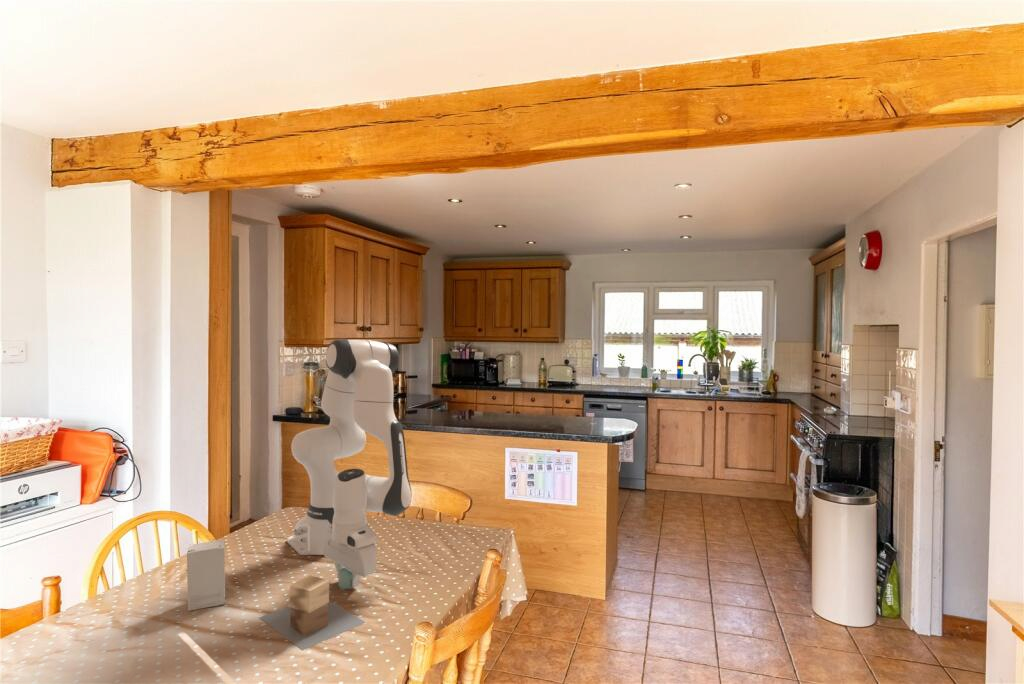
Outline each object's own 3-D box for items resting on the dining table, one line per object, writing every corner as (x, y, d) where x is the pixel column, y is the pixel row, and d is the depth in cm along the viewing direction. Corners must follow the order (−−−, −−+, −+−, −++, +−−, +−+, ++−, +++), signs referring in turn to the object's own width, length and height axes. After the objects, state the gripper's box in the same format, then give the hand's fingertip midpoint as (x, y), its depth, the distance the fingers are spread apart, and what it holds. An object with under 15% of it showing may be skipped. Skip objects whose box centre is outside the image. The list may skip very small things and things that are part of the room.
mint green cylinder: (334, 588, 149) (335, 570, 148) (350, 583, 152) (350, 565, 152) (344, 594, 145) (345, 575, 145) (360, 588, 149) (360, 570, 149)
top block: (289, 607, 126) (290, 585, 126) (309, 596, 131) (310, 575, 131) (309, 613, 123) (309, 591, 123) (328, 602, 129) (329, 580, 129)
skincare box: (225, 595, 143) (226, 538, 143) (224, 606, 138) (225, 546, 137) (187, 601, 139) (189, 542, 139) (185, 612, 134) (186, 551, 134)
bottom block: (290, 626, 127) (290, 604, 127) (314, 616, 132) (314, 595, 132) (303, 636, 123) (304, 613, 123) (327, 625, 128) (328, 604, 128)
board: (258, 621, 131) (259, 617, 131) (320, 598, 143) (320, 594, 143) (302, 654, 118) (302, 650, 118) (366, 626, 130) (366, 622, 130)
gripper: (318, 524, 153) (316, 574, 153) (360, 544, 140) (359, 598, 140) (338, 519, 158) (336, 567, 158) (381, 537, 145) (380, 590, 145)
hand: (347, 582), depth 149 cm, fingers closed on mint green cylinder, 5 cm apart
